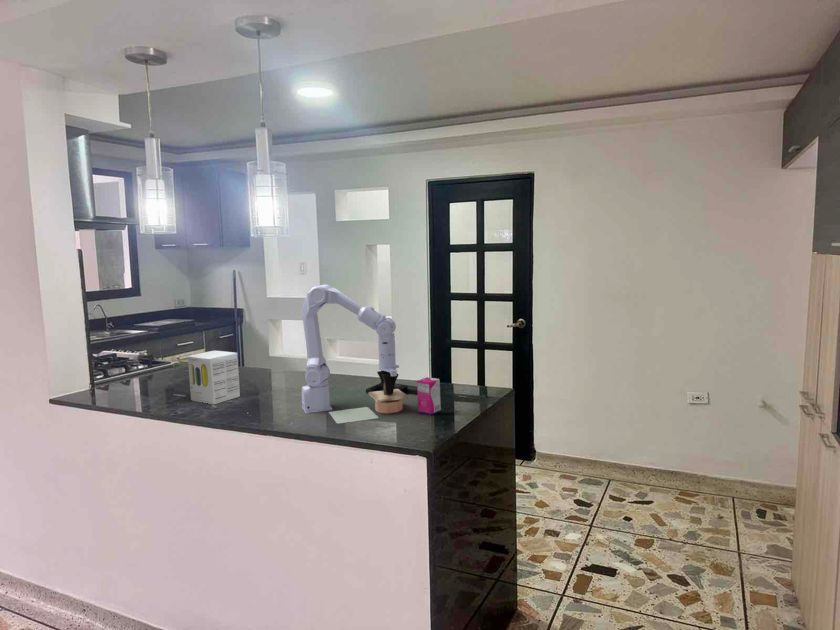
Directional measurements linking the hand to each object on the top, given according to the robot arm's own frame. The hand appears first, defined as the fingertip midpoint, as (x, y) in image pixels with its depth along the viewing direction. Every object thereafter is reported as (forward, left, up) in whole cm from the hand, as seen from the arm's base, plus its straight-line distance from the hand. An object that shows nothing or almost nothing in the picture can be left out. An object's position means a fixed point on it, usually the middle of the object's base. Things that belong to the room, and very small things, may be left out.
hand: (388, 392), depth 193 cm
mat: (-13, -1, -6) cm, 15 cm away
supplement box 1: (-56, +44, -7) cm, 72 cm away
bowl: (0, 0, -6) cm, 6 cm away
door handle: (+7, +20, -7) cm, 23 cm away
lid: (0, 0, -1) cm, 1 cm away
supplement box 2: (+12, -8, -7) cm, 16 cm away
